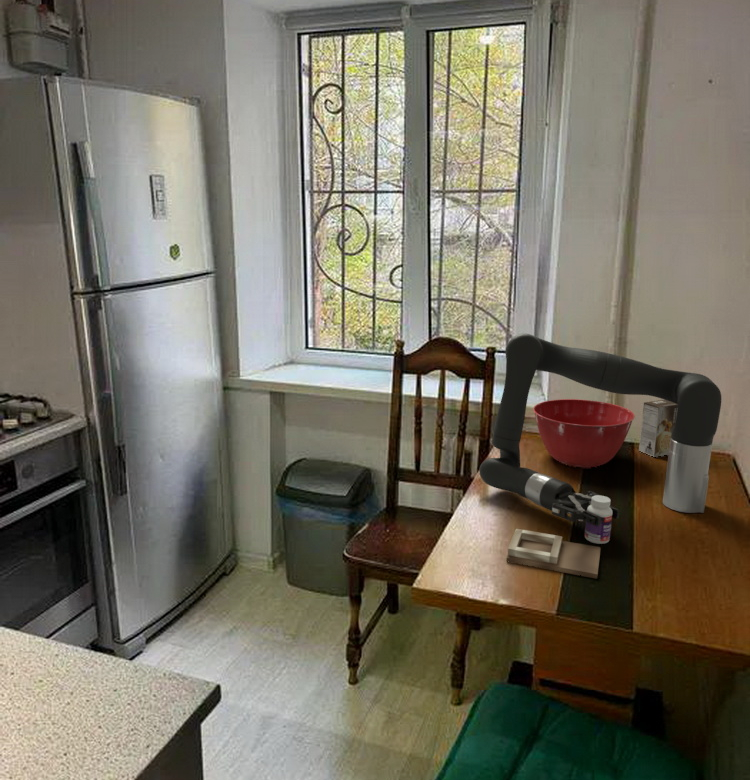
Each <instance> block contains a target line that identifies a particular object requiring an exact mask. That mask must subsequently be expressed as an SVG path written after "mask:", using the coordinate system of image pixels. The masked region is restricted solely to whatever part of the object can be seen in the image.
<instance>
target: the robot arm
mask: <svg viewBox="0 0 750 780" xmlns="http://www.w3.org/2000/svg"><path fill="white" fill-rule="evenodd" d="M505 358H506V363H505V380H504V387H503V392H502V396H501V399H500V404H499V408H498V411H497V415H496V417H495V424H494V429H493V433H492V439H491V443H492V444H491V445H492V446H493V447H494V448H496V449H498V450H499V454H500V455H499V457H490V458H487V459H485V460H483V461H482V463H481V464H480V466H479V469H478V471H479V476H480V478H481V480H482V481H483V482H484V483H485V484H487V485H488V486H489V487H493V488H495V489H498V490H501V491H505V492H511V493H513V494H516V495H519V496H520V497H523V498H525V499H526V500H529V501H531V502H532V503H533V504H535V505H537V506H540V507H542V508H544V509H546V510H548V511H551V515H553V516H555V517H558V518H560V519H564V520H565V521H569V522H572V523H576V522H577V520H578V521H579V522H585V523H586V522H588V523H590V524H593V525H595V526H599V525H600V521H601V518H600V516H598V515H596V514H593V513H591V512H589V511H587V508H588V506H590V505H592V504H591V499H592V496H595V495H599V493H596V492H594V491H592V490H588V491H587V494H583V493H579V492H576V491H575V489H574V487H573V486H572V485H571V484H570V483H568V482H565V481H563V480H561V479H558V478H555V477H553V476H551V475H548V474H545V473H541V472H538V471H536V470H533V469H530V468H528V467H523V466H522V467H521V453H520V452H521V451H520V443H521V438H522V433H523V430H524V425H525V424H524V423H525V417H526V411H527V404H528V398H529V394H530V389H531V386H532V381H533V379H534V377H535V374H536V372H537V371H541V372H545V373H551V374H556V375H559V376H562V377H563V378H566V379H569V380H571V381H573V382H576V383H579V384H582V385H584V386H587V387H590V388H593V389H597V390H601V391H605V392H609V393H613V394H618V395H631V396H633V395H634V396H635V395H636V396H651V397H655V398H659V399H661V400H667V401H670V402H673V403H676V404H678V409H677V416H676V422H675V425H674V427H673V428H672V433H671V441H670V448H669V455H667V457H668V458H667V463H666V464H667V465H666V475H665V481H664V490H663V494H662V504H663V505H664V506H665V507H667V508H668V509H671V510H673V511H676V512H680V513H688V514H695V513H703V514H704V513H705V507H706V499H707V493H708V486H709V479H710V475H709V468H710V461H711V457H712V455H711V454H712V448H713V441H714V438H715V435H716V433H717V430H718V425H719V419H720V414H721V408H722V407H721V406H722V393H721V390H720V388H719V387H718V385H716V384H715V383H714V382H713V380H712V379H710V378H709V377H708V376H706V375H703V374H700V373H695V372H687V371H679V370H674V369H673V370H672V369H667V368H666V369H665V368H663V367H662V368H661V367H657V366H654V365H651V364H648V363H645V362H642V361H638V360H636V359H633V358H632V359H631V358H628V357H625V356H621V355H617V354H614V353H610V352H609V353H608V352H604V351H600V350H599V351H598V350H594V349H586V348H579V347H572V346H571V347H569V346H564V345H560V344H557V343H555V342H554V343H553V342H551V341H548V340H546V339H542V338H539V337H538V336H535V335H533V334H530V333H518V334H517V335H514V336H513V337H512V338H510V340H509V341H508V342H507V344H506V347H505ZM589 504H590V505H589ZM610 508H611V509H612V512H613V513H612V519H615V520H616V519H619V517H620V509H618V508H616V507H614V506H612V505H610Z"/></svg>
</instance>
